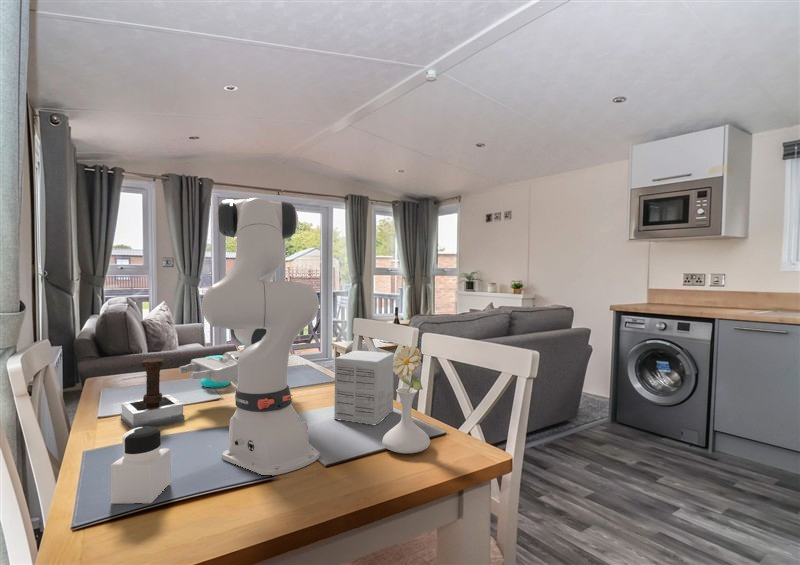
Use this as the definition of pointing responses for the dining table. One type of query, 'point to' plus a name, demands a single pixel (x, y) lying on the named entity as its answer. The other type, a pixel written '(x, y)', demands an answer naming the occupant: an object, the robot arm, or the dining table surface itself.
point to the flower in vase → (407, 406)
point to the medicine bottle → (140, 468)
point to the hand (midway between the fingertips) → (185, 372)
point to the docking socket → (152, 413)
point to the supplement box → (364, 386)
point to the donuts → (211, 383)
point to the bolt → (152, 382)
